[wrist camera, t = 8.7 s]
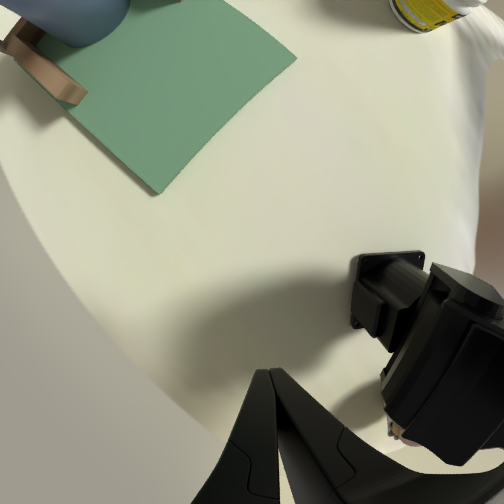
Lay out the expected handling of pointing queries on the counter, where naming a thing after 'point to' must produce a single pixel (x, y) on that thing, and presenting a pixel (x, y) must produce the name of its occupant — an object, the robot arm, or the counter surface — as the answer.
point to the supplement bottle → (431, 12)
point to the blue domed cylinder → (72, 18)
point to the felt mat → (167, 80)
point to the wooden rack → (41, 62)
